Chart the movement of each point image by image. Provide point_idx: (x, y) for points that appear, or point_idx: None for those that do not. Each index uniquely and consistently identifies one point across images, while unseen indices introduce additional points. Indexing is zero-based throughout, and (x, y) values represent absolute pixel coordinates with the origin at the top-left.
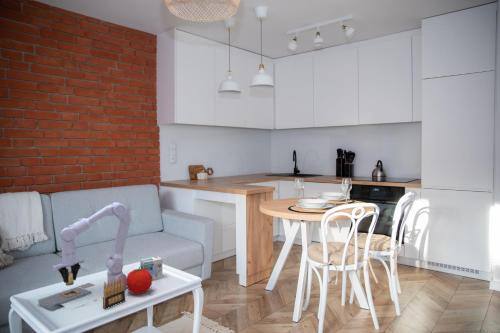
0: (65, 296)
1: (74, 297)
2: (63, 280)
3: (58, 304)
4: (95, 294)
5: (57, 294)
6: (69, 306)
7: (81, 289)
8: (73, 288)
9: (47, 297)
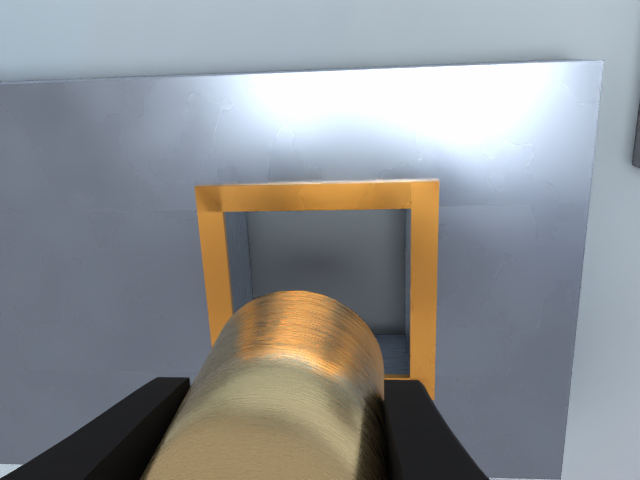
0: (212, 337)
1: None
2: (126, 400)
3: None
4: (622, 407)
5: (168, 130)
6: None
7: (542, 270)
8: (502, 82)
9: (3, 121)
